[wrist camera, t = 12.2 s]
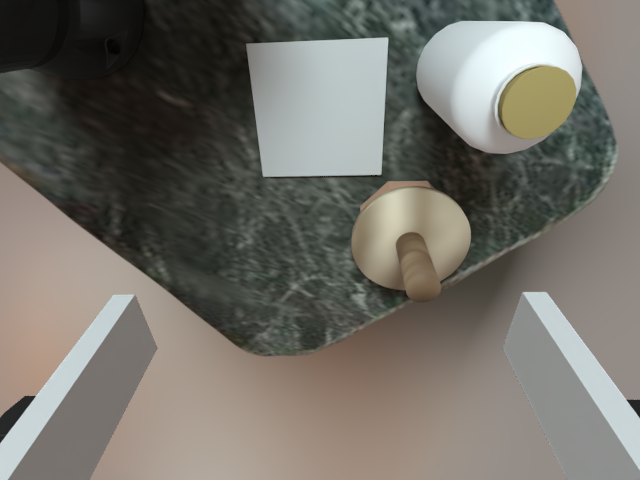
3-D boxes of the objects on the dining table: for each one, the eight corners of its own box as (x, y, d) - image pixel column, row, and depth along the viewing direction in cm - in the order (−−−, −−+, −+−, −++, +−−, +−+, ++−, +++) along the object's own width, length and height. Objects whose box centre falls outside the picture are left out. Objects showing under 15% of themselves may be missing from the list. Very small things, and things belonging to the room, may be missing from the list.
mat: (263, 175, 43) (263, 176, 43) (246, 43, 36) (246, 43, 36) (380, 173, 43) (381, 174, 42) (387, 37, 35) (388, 37, 35)
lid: (350, 283, 45) (352, 337, 37) (351, 186, 38) (354, 228, 31) (457, 284, 44) (481, 339, 37) (477, 185, 37) (512, 227, 30)
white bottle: (397, 85, 38) (435, 131, 22) (450, 1, 34) (540, -14, 18) (461, 126, 39) (537, 194, 24) (518, 50, 35) (653, 74, 20)
